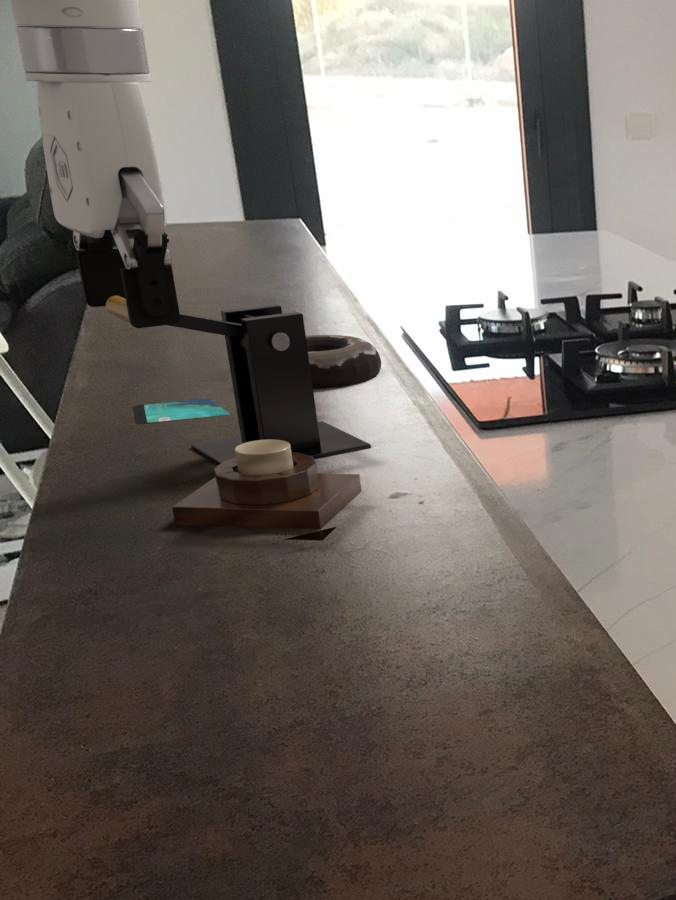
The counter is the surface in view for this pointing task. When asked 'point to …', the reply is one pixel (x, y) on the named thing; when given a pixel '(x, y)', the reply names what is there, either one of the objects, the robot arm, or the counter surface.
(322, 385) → the donut
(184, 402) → the smartphone
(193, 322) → the switch lever
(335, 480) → the lamp base
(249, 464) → the button
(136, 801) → the counter surface
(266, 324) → the switch bracket
